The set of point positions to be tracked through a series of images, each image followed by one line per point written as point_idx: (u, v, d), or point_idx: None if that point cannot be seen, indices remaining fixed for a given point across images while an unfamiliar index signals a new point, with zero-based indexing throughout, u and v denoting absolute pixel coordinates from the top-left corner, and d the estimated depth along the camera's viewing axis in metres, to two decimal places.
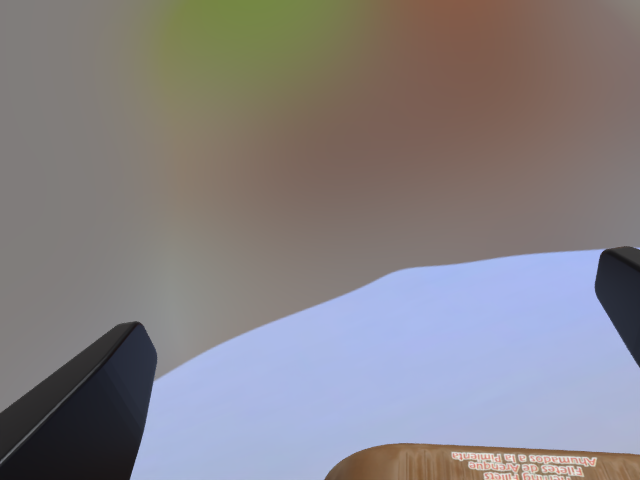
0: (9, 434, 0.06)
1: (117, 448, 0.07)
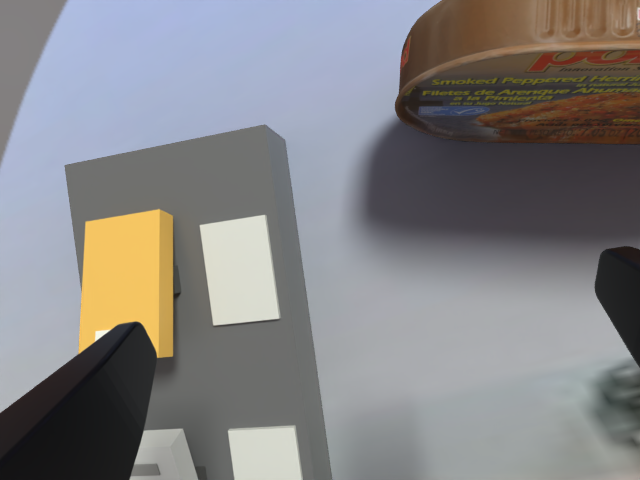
0: (9, 434, 0.06)
1: (117, 448, 0.07)
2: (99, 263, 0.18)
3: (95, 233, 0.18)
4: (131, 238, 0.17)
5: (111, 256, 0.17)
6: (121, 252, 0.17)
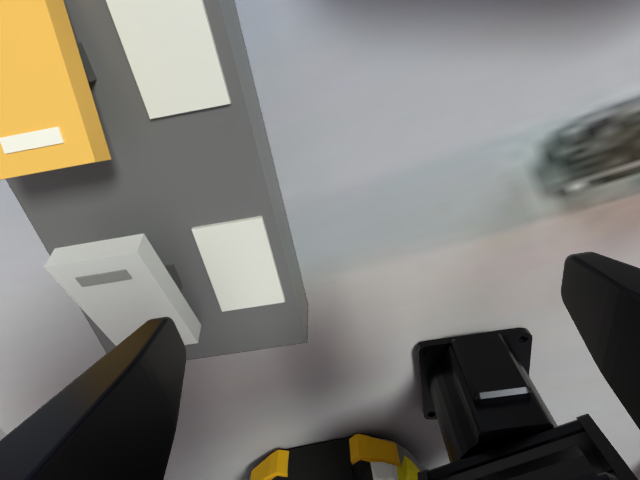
0: (53, 428, 0.06)
1: (153, 443, 0.07)
2: None
3: None
4: (1, 2, 0.12)
5: None
6: None
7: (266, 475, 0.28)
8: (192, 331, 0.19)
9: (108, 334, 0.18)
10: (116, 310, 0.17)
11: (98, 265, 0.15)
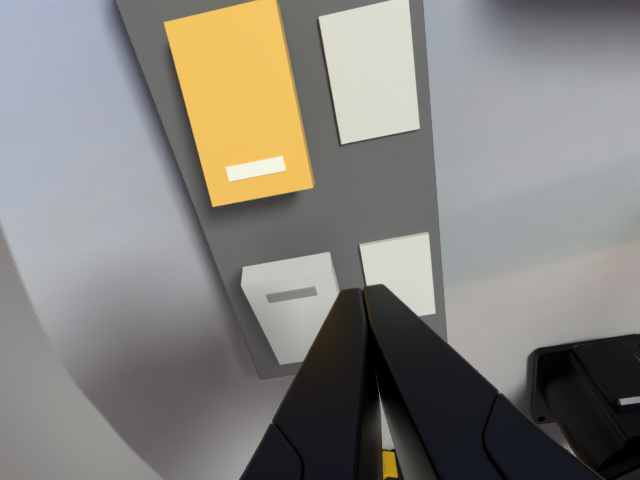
0: (337, 390, 0.05)
1: (377, 414, 0.07)
2: (204, 82, 0.14)
3: (185, 39, 0.13)
4: (242, 43, 0.13)
5: (220, 71, 0.13)
6: (232, 64, 0.13)
7: None
8: None
9: (274, 346, 0.19)
10: (290, 324, 0.18)
11: (291, 283, 0.16)
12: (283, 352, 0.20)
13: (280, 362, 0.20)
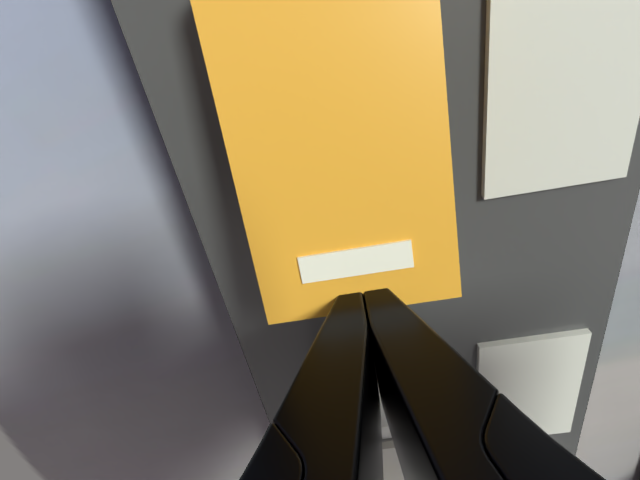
0: (337, 389, 0.05)
1: (377, 414, 0.07)
2: (264, 92, 0.07)
3: None
4: (349, 11, 0.06)
5: (297, 71, 0.06)
6: (325, 57, 0.06)
7: None
8: None
9: None
10: None
11: (388, 432, 0.10)
12: None
13: None
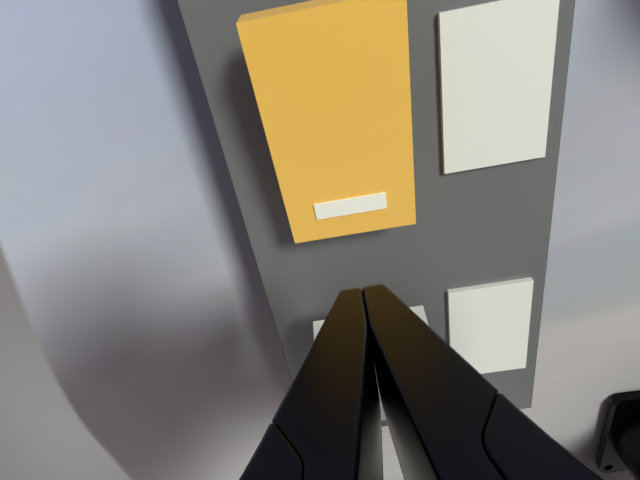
0: (337, 389, 0.05)
1: (377, 414, 0.07)
2: (293, 106, 0.10)
3: (267, 49, 0.09)
4: (349, 55, 0.09)
5: (314, 93, 0.10)
6: (333, 84, 0.10)
7: None
8: None
9: None
10: None
11: None
12: None
13: None
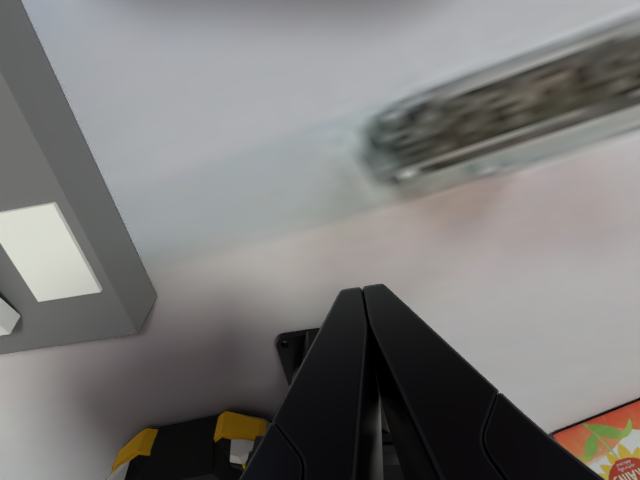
0: (337, 389, 0.05)
1: (377, 414, 0.07)
2: None
3: None
4: None
5: None
6: None
7: (128, 454, 0.27)
8: (0, 322, 0.18)
9: None
10: None
11: None
12: None
13: None
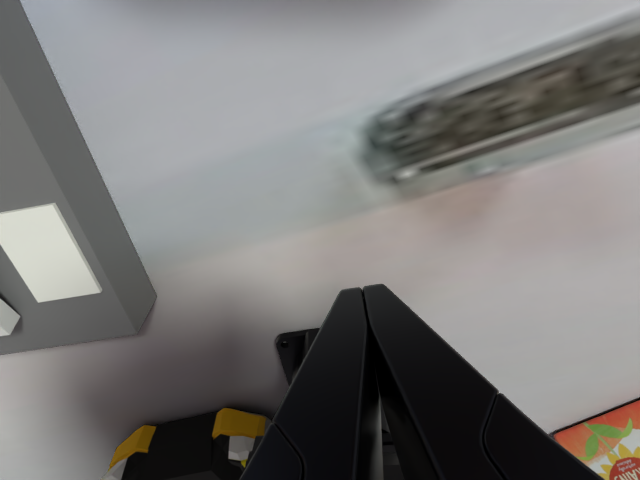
0: (337, 389, 0.05)
1: (377, 414, 0.07)
2: None
3: None
4: None
5: None
6: None
7: (126, 451, 0.26)
8: (0, 322, 0.18)
9: None
10: None
11: None
12: None
13: None
